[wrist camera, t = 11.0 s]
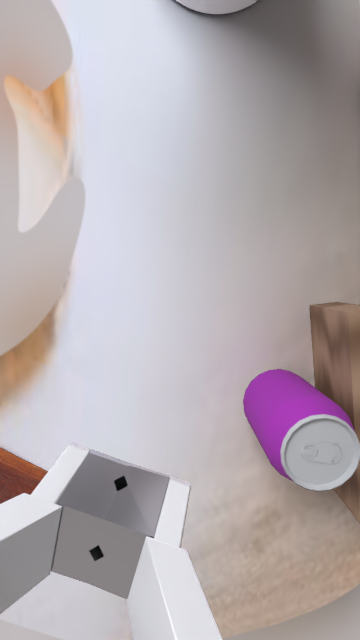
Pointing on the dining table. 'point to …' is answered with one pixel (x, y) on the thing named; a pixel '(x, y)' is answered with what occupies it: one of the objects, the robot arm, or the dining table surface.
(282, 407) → the beverage can
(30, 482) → the wooden tablet
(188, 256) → the dining table surface
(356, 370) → the board
